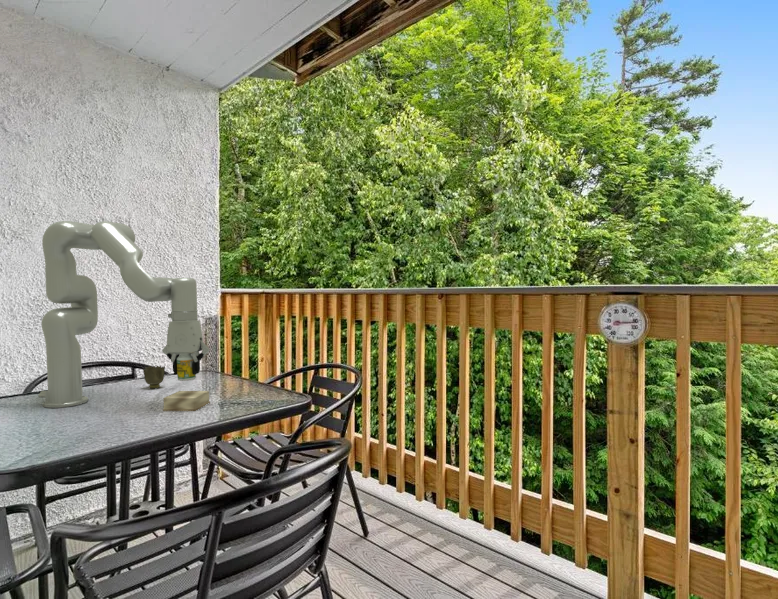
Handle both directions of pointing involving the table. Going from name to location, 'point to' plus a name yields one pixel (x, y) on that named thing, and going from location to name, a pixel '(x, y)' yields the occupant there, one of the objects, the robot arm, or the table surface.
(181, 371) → the supplement bottle
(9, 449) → the table surface
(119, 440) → the table surface
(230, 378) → the table surface
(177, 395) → the base block
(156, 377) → the cup
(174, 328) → the robot arm
